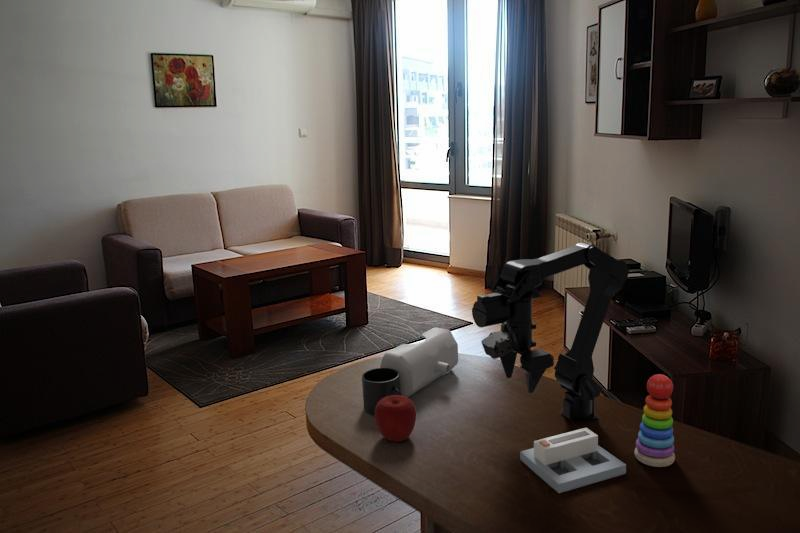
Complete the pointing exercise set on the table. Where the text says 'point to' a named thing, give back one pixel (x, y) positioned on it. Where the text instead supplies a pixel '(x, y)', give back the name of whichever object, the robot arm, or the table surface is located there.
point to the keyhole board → (575, 469)
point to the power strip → (565, 446)
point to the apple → (395, 417)
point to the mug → (379, 386)
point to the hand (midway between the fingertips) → (519, 385)
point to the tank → (423, 360)
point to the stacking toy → (656, 425)
